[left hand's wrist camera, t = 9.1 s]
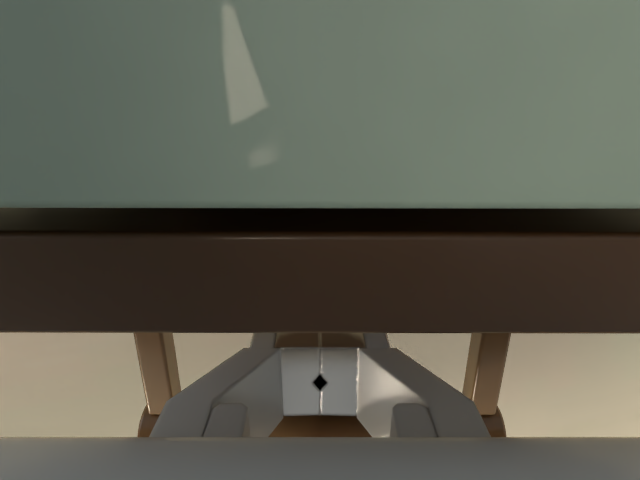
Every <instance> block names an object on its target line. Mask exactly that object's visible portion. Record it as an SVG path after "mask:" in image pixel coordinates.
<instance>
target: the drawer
mask: <svg viewBox="0 0 640 480" xmlns="http://www.w3.org/2000/svg"><path fill="white" fill-rule="evenodd" d="M0 332H99V333H134V338H135V343H136V348H137V354H138V359H139V365H140V370H141V375H142V381H143V386H144V391H145V397H146V402H147V405H146V407H145V409H144V411H143V413H142V416H141V420H140V424H139V429H138V437H149V436H150V434H151V432H152V430H153V428H154V426H155V424H156V422H157V420H158V418H159V415H160V413H161V411H162V409H163V407H164V405H165V403H166V401H168V400H169V399H171V398H172V397H174V396H175V395H177V394H178V393H179V392H181V387H180V380H179V374H178V367H177V360H176V353H175V346H174V339H173V333H472V334H471V341H470V347H469V354H468V360H467V367H466V373H465V380H464V386H463V393H462V394H463V395H465V396H466V397H467V398H469V399H470V400H472V401H473V402H474V403H475V405H476V407H477V409H478V411H479V413H480V415H481V417H482V419H483V421H484V423H485V425H486V427H487V430H488V432H489V434H490V436H491V437H506V430H505V425H504V421H503V417H502V414H501V412H500V410H499V408H498V406H497V403H498V398H499V392H500V387H501V382H502V377H503V372H504V367H505V361H506V356H507V351H508V346H509V341H510V336H511V333H640V209H457V208H0ZM269 437H372V436H371V435H370V434H369V432H368V431H367V430H366V429H365V427H364V426H363V425H362V424H361V422H360V421H359V420H358V419H357V416H334V415H306V416H283V419H282V420H281V422H280V423H279V424H278V425H277V427H276V428H275V429H274V430H273V432H272V433H271V434H270V435H269Z"/></svg>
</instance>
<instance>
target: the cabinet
mask: <svg viewBox="0 0 640 480" xmlns="http://www.w3.org/2000/svg"><path fill="white" fill-rule="evenodd" d="M0 208H457V209H640V0H0Z"/></svg>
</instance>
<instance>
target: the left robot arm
mask: <svg viewBox="0 0 640 480" xmlns="http://www.w3.org/2000/svg"><path fill="white" fill-rule="evenodd" d="M306 415H334V416H357V419H358V420H359V421H360V422H361V424H362V425H363V426H364V427H365V429H366V430H367V431H368V432H369V434H370V435H371V436H372V437H269V435H270V434H271V433H272V432H273V430H274V429H275V428H276V427H277V425H278V424H279V423H280V422H281V420H282V419H283V416H306ZM0 480H640V437H491V436H490V434H489V432H488V430H487V427H486V425H485V423H484V421H483V419H482V417H481V415H480V413H479V411H478V409H477V407H476V405H475V403H474V402H473V401H472V400H470V399H469V398H467V397H466V396H465V395H463V394H462V393H460V392H459V391H457V390H456V389H454V388H453V387H452V386H450V385H449V384H447V383H446V382H444V381H443V380H441V379H440V378H439V377H437V376H436V375H434V374H433V373H431V372H430V371H428V370H427V369H426V368H424V367H423V366H421V365H420V364H418V363H417V362H415V361H414V360H413V359H411V358H410V357H408V356H407V355H405V354H404V353H402V352H401V351H400V350H398V349H397V348H390V345H389V341H388V337H387V334H386V333H254V334H253V337H252V341H251V345H250V348H243V349H242V350H240V351H239V352H238V353H236V354H235V355H233V356H232V357H230V358H229V359H227V360H226V361H224V362H223V363H222V364H220V365H219V366H217V367H216V368H214V369H213V370H211V371H210V372H209V373H207V374H206V375H204V376H203V377H201V378H200V379H198V380H197V381H195V382H194V383H193V384H191V385H190V386H188V387H187V388H185V389H184V390H182V391H181V392H179V393H178V394H177V395H175V396H174V397H172V398H171V399H169V400H168V401H166V403H165V405H164V407H163V409H162V411H161V413H160V415H159V418H158V420H157V422H156V424H155V426H154V428H153V430H152V432H151V434H150V436H149V437H0Z"/></svg>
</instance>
